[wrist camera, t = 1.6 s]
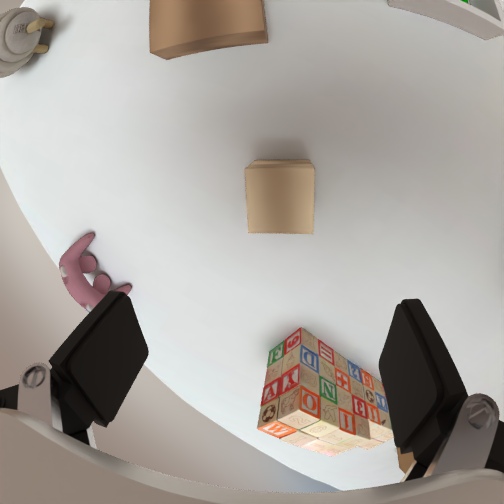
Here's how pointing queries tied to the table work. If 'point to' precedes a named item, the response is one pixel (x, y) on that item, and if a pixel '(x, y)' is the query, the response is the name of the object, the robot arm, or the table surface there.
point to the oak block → (280, 196)
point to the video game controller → (76, 282)
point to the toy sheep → (20, 38)
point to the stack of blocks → (321, 399)
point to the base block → (204, 25)
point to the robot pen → (461, 14)
